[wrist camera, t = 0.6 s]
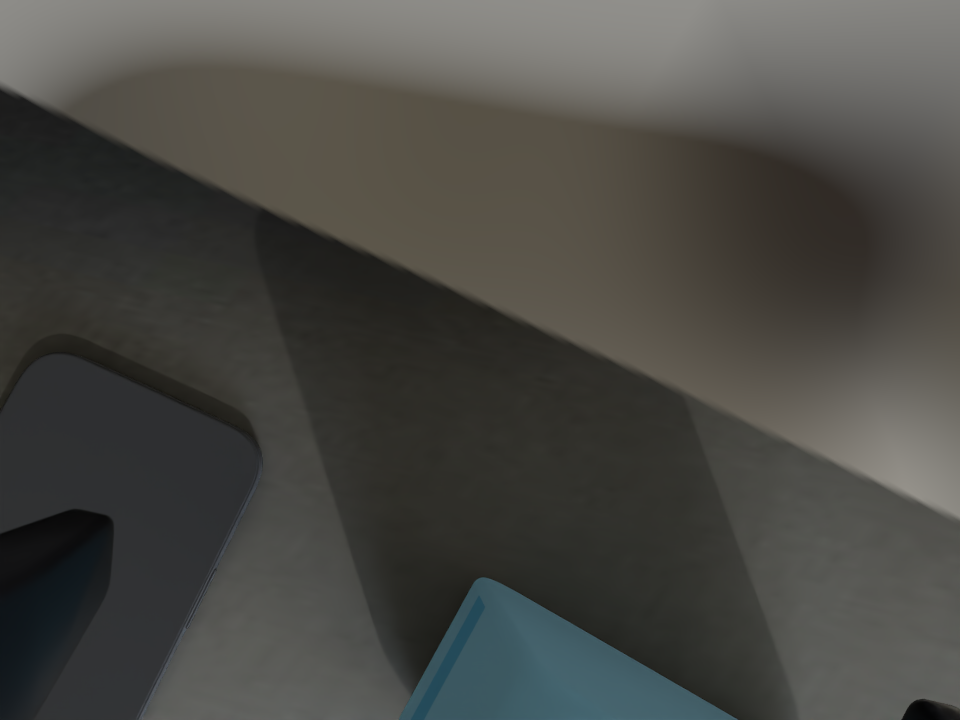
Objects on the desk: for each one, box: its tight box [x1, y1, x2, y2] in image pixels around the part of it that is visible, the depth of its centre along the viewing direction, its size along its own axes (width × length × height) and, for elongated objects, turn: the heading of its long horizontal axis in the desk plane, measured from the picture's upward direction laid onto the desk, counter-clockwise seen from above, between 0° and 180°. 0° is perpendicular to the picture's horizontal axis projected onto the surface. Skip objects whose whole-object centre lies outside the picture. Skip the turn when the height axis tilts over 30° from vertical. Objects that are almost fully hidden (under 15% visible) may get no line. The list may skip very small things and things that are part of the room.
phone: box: [0, 352, 263, 720], centre depth 21 cm, size 7×1×15 cm
